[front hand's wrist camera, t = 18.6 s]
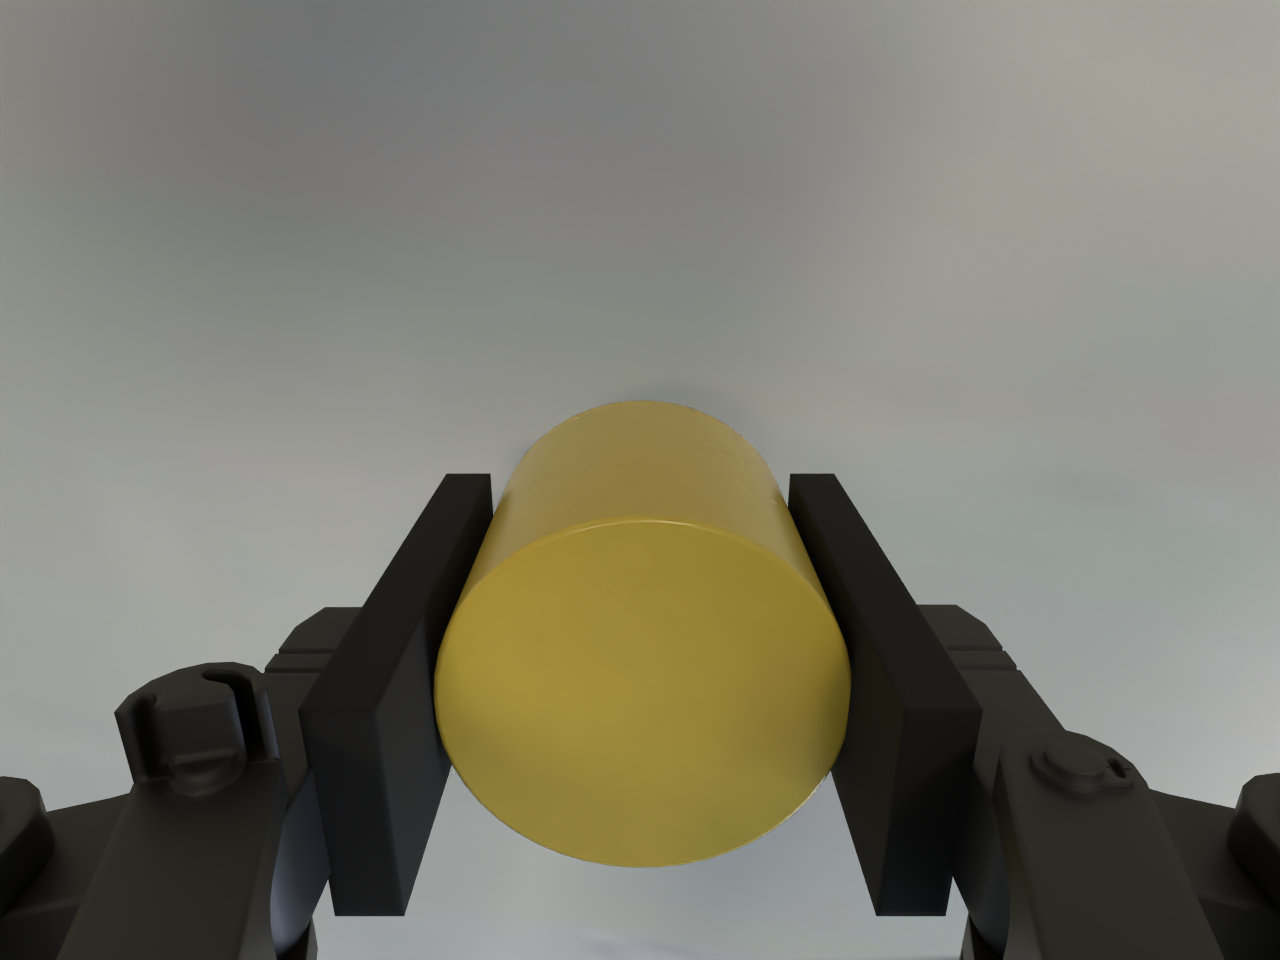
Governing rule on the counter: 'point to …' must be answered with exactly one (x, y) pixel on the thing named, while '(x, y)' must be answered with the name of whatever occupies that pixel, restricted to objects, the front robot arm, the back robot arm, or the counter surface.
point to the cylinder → (642, 646)
